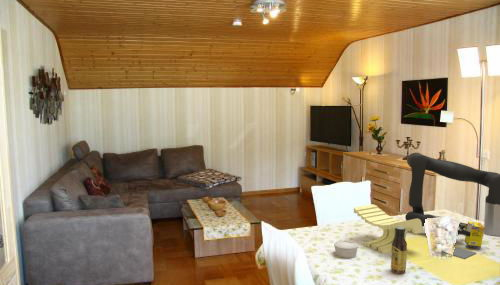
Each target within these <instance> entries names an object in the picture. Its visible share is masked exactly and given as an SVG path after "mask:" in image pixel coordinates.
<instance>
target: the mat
mask: <svg viewBox="0 0 500 285" xmlns="http://www.w3.org/2000/svg"><path fill="white" fill-rule="evenodd" d="M476 254H477V252H475V251H472V250H467V249H465V248H463V247H462V248H461V247H457V246H455V249H454V252H453V256H452V257H456V258H460V259H462V260H466V259H468V258H470V257H473V256H474V255H476Z"/></svg>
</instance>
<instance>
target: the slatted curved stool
mask: <svg viewBox="0 0 500 285" xmlns="http://www.w3.org/2000/svg"><path fill="white" fill-rule="evenodd" d="M353 213H354V214H357V217H360V220H363V221H364V223H367V224H370V225H372V226H373V227H374V226H375V227H378V228H380V229H382V232H383V234H382V235H381V236H380V237H378V238H376V239H374V240H370V241H366V242H365V244H364V246H365V247H368V248H371V249H372V250H374V251H377V252H379V253H381V254H387V253H391V251H392V243H393V241H394V238H395V232H396V231H395V227H396V226H402V227H405V235H404V236H405V238H404V239H405V240H406V239H407V234H408V232H412V233H413V234H415V235H417V234H421V233H422V232H423V229H422V228H423V226H422V222H421V220H420V219H418V218H417V219H412V220H407V221H406V220H400V219H398V218H395V217H394V216H390V215H389V214H387V213H386V212H385V211H383V210H382V209H381V208H380V207H379V206H378V205H376V204H367V205H361V206H355V207H353ZM406 241H407V240H406Z"/></svg>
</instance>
